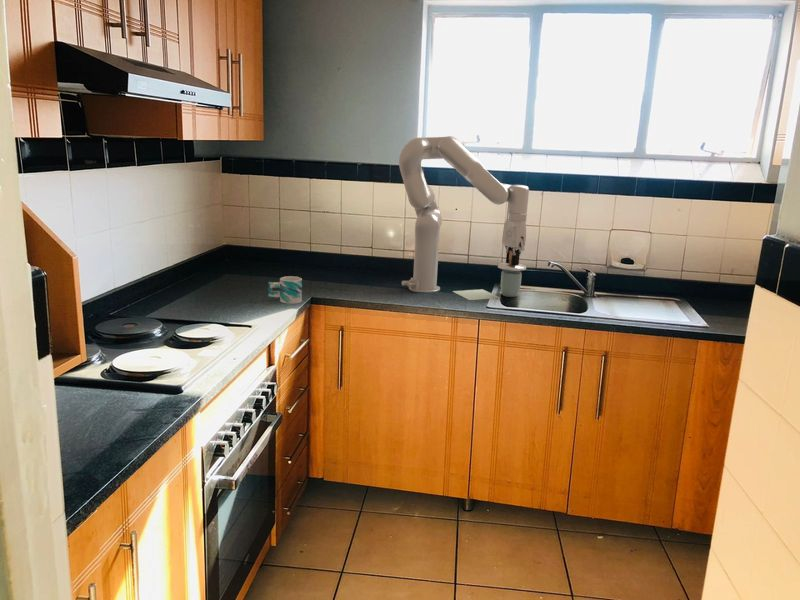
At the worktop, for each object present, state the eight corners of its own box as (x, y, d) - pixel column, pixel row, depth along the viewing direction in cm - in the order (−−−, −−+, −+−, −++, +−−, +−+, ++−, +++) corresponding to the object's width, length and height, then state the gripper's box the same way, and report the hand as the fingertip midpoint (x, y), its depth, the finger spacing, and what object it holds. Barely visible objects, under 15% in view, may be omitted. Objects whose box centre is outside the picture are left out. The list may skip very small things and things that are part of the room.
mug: (301, 303, 238) (301, 281, 236) (267, 303, 237) (267, 280, 235) (301, 298, 246) (302, 276, 244) (269, 297, 245) (269, 275, 242)
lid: (507, 271, 253) (509, 253, 251) (492, 265, 262) (494, 248, 261) (531, 270, 257) (533, 252, 256) (515, 264, 267) (517, 247, 265)
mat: (469, 301, 252) (469, 299, 252) (452, 292, 265) (452, 291, 264) (500, 299, 258) (500, 297, 258) (482, 290, 270) (482, 289, 270)
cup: (520, 299, 259) (523, 274, 256) (501, 298, 259) (503, 273, 257) (517, 294, 267) (520, 270, 264) (498, 293, 267) (500, 269, 264)
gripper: (496, 214, 261) (493, 260, 265) (520, 220, 246) (515, 268, 251) (513, 214, 264) (508, 259, 268) (536, 220, 249) (532, 268, 254)
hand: (512, 263), depth 259 cm, fingers closed on lid, 3 cm apart
